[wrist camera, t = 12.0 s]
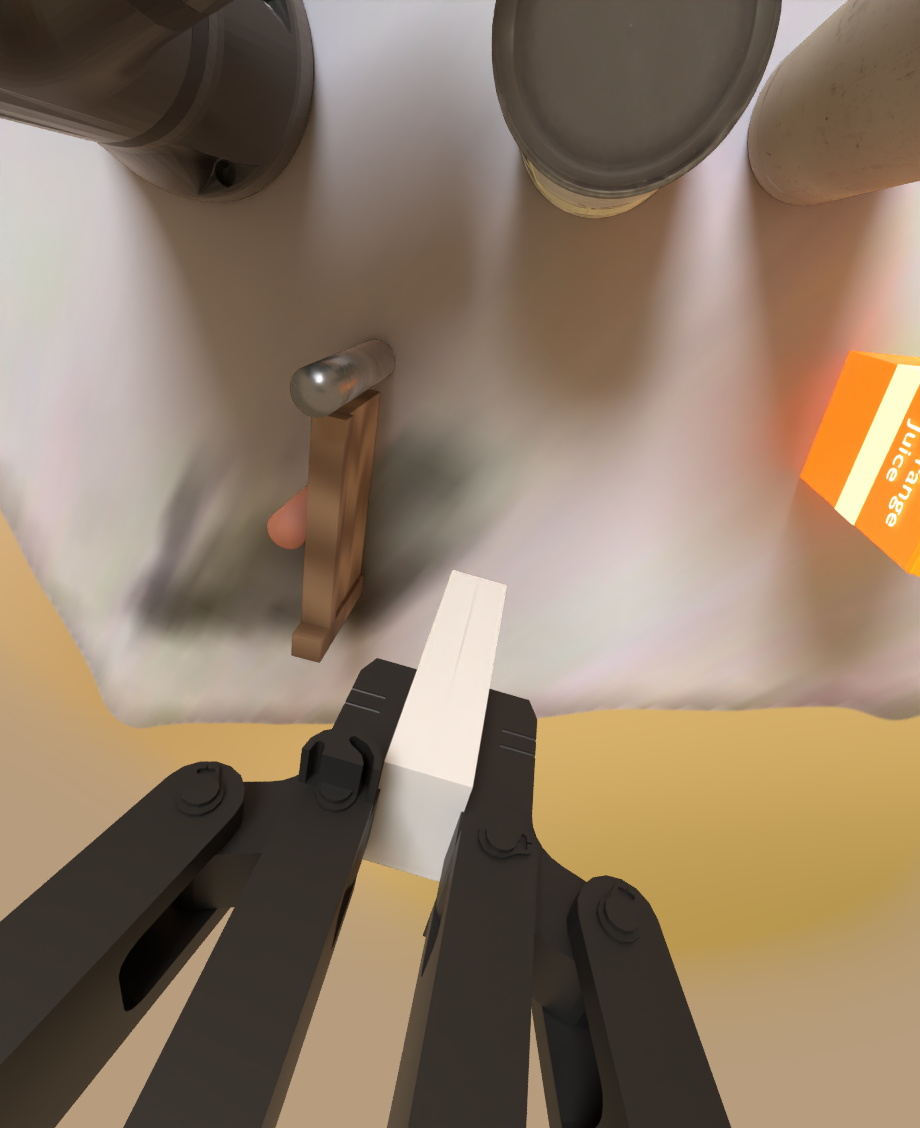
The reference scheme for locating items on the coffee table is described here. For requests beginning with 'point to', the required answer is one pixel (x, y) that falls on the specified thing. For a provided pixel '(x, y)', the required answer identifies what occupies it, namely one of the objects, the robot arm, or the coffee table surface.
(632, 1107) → the robot arm
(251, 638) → the coffee table surface
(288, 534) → the latch post
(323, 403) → the hinge post
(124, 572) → the coffee table surface
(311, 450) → the gate
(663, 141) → the coffee can
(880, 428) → the orange juice
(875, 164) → the thermos bottle
